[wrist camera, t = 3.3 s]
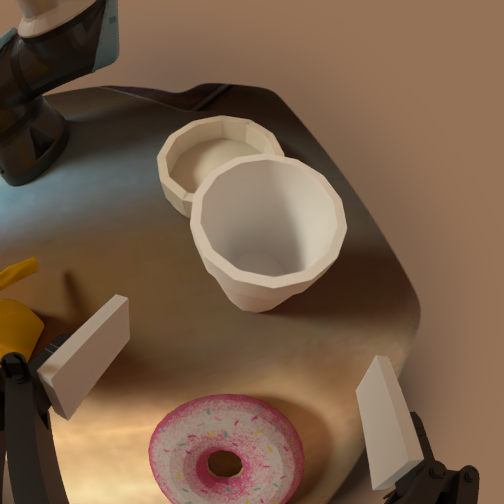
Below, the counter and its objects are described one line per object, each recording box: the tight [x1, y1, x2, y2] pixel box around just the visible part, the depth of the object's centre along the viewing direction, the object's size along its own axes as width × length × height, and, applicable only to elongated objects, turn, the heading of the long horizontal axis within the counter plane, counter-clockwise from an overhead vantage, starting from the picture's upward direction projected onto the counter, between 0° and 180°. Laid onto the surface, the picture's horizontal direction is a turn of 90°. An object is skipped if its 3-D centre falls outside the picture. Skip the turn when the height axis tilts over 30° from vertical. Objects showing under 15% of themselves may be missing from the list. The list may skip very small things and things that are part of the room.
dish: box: [157, 116, 284, 220], centre depth 32 cm, size 14×14×4 cm
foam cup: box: [190, 153, 347, 313], centre depth 22 cm, size 10×9×13 cm
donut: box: [148, 394, 305, 504], centre depth 19 cm, size 14×13×5 cm
